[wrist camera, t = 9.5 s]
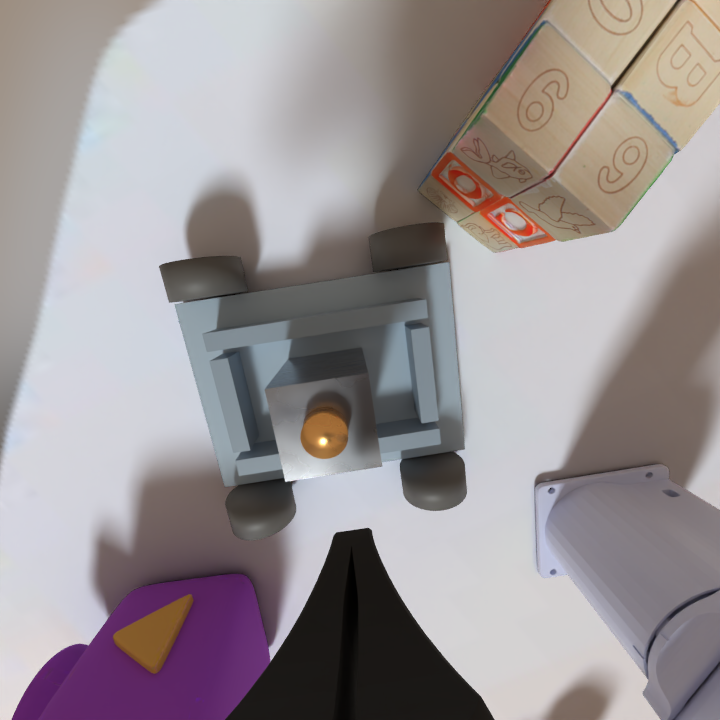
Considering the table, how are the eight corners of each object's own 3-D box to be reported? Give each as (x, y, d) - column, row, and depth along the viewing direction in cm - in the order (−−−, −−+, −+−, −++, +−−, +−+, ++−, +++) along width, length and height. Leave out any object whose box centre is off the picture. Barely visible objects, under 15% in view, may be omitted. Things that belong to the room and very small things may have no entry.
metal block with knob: (361, 347, 20) (369, 378, 13) (372, 415, 21) (384, 476, 14) (288, 358, 20) (259, 395, 13) (302, 426, 21) (282, 492, 14)
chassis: (441, 230, 20) (464, 216, 16) (462, 466, 23) (485, 503, 19) (174, 271, 20) (131, 267, 16) (236, 502, 23) (214, 546, 19)
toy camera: (67, 595, 24) (-119, 803, 15) (242, 541, 24) (171, 717, 14) (135, 697, 27) (14, 934, 17) (294, 649, 26) (264, 863, 17)
